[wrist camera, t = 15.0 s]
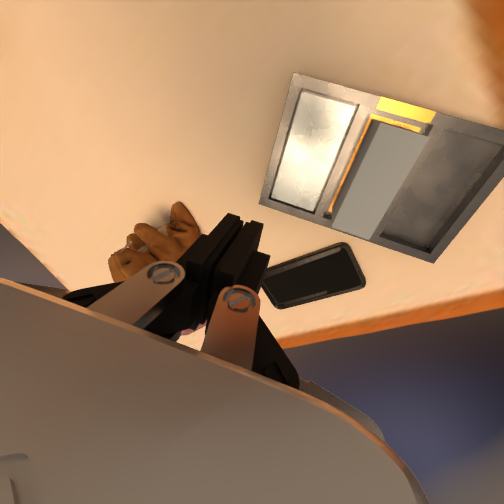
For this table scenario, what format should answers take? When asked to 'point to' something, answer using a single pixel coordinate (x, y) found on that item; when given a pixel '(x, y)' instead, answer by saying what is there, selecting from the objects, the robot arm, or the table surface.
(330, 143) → the gray divided tray
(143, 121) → the table surface
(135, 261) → the stuffed squirrel
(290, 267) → the phone
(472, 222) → the table surface
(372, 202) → the gray rectangular block
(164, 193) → the table surface
